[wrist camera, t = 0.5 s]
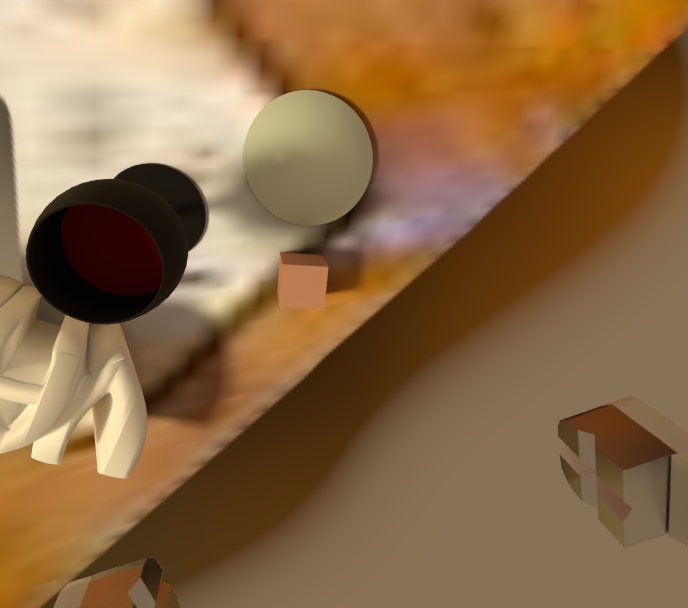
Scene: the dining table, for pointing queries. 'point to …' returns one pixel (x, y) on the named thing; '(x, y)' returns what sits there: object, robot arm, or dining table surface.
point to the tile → (308, 157)
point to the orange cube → (302, 281)
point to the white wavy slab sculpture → (66, 384)
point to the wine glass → (116, 244)
